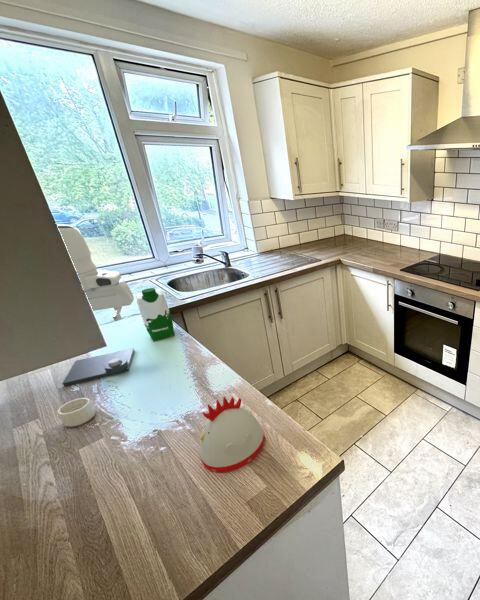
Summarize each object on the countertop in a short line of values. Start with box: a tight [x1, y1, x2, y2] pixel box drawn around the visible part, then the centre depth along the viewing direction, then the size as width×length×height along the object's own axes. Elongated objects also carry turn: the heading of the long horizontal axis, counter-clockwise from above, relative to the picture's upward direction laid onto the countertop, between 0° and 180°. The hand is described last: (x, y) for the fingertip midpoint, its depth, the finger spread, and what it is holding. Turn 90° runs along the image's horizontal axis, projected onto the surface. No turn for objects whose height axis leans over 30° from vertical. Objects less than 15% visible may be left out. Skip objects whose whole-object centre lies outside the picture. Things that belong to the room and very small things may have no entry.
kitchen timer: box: [199, 396, 265, 473], centre depth 77 cm, size 14×14×15 cm
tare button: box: [109, 358, 121, 367], centre depth 107 cm, size 3×3×2 cm
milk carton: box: [135, 287, 175, 343], centre depth 126 cm, size 9×9×20 cm
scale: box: [62, 347, 136, 388], centre depth 109 cm, size 16×15×3 cm
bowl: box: [56, 397, 97, 428], centre depth 88 cm, size 6×6×5 cm
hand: (98, 323), depth 99 cm, fingers open, 8 cm apart
